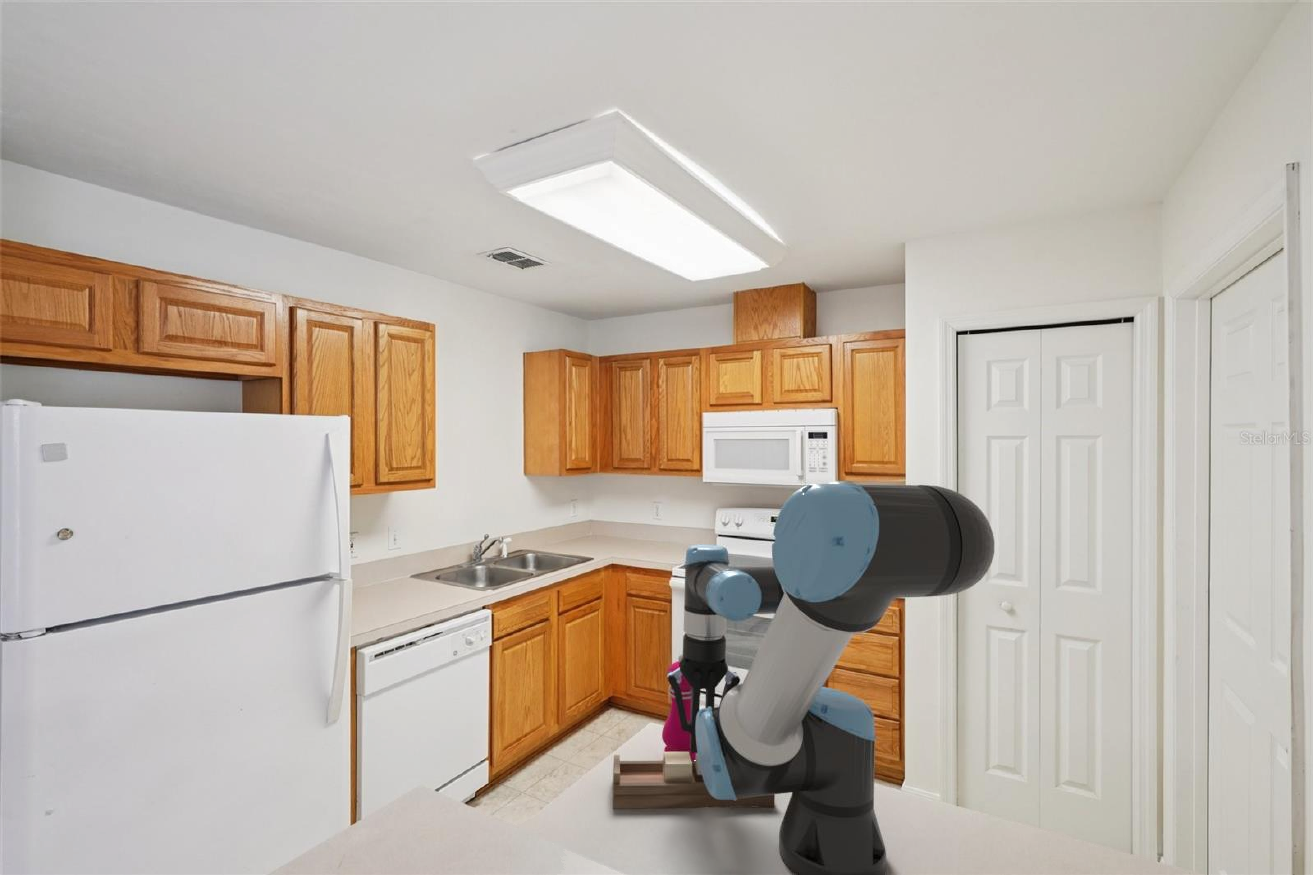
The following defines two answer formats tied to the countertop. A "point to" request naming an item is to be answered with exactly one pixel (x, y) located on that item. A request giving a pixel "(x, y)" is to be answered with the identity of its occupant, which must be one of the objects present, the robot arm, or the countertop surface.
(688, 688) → the pepper mill
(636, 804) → the channel
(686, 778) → the birch block
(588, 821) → the countertop surface
